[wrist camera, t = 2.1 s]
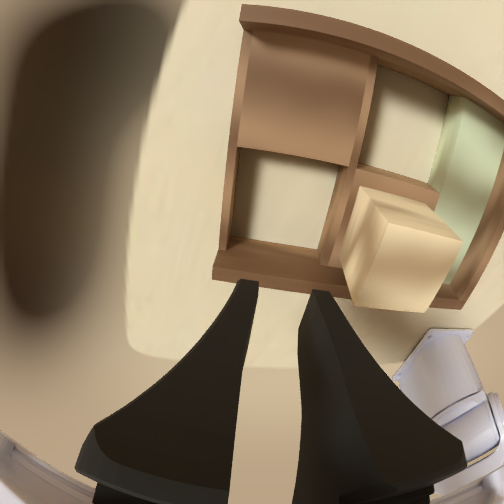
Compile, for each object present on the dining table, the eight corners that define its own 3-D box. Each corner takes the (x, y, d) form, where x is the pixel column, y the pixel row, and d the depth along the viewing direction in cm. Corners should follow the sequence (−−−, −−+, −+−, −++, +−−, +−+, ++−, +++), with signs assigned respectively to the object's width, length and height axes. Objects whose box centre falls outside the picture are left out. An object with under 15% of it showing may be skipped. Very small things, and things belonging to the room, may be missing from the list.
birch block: (399, 265, 18) (424, 312, 14) (338, 255, 18) (353, 306, 14) (425, 203, 15) (463, 241, 11) (359, 185, 15) (388, 222, 11)
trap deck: (442, 280, 21) (460, 309, 17) (222, 246, 21) (211, 279, 17) (501, 115, 12) (534, 126, 9) (249, 23, 12) (241, 4, 9)
